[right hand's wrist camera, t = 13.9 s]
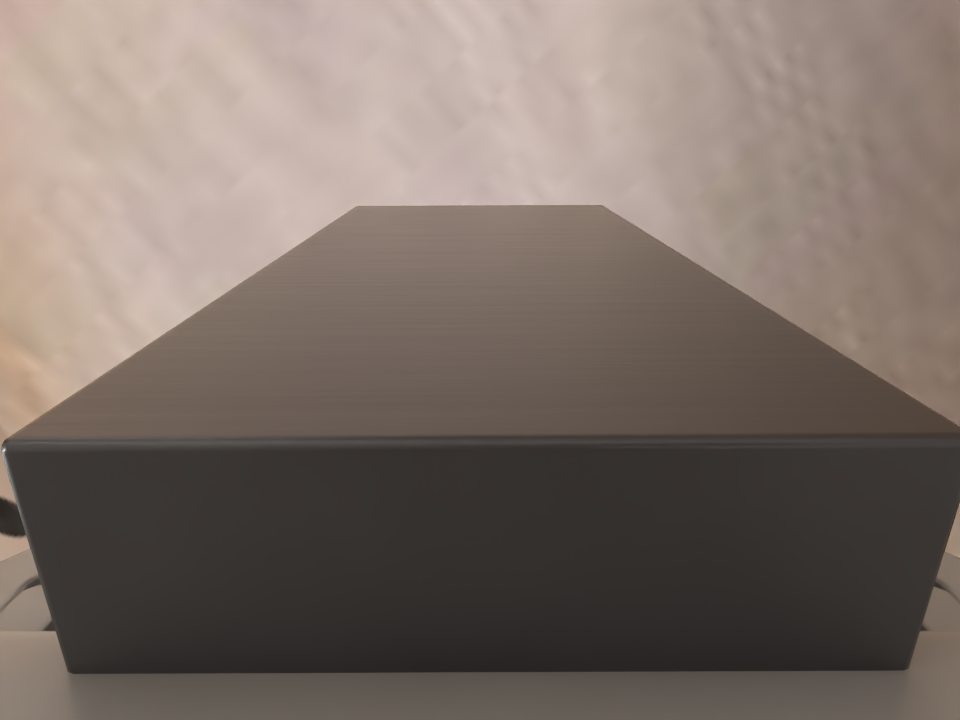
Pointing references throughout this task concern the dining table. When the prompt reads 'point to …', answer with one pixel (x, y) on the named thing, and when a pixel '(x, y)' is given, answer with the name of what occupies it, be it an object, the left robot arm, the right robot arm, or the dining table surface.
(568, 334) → the box
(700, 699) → the right robot arm
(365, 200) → the dining table surface
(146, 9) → the dining table surface
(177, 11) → the dining table surface
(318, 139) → the dining table surface
